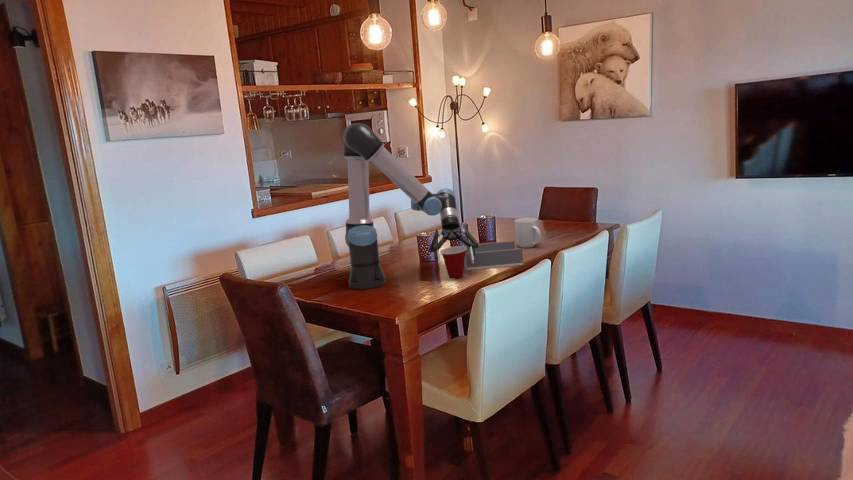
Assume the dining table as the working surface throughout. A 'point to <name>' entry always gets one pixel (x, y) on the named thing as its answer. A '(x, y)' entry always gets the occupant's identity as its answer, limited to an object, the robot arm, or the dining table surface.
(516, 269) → the dining table surface
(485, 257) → the dock
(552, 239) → the dining table surface
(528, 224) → the mug
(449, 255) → the plastic cup
